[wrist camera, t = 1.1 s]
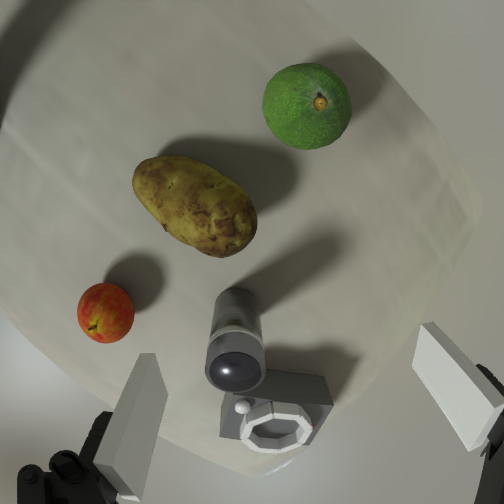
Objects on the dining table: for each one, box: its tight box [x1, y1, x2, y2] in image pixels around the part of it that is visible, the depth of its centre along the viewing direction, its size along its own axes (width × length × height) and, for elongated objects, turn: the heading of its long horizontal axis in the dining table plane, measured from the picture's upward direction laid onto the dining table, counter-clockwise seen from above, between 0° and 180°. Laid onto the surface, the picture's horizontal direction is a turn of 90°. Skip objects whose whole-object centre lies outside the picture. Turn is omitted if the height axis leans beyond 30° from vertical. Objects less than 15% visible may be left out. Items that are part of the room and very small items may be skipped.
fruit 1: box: [77, 283, 134, 343], centre depth 31 cm, size 7×7×8 cm
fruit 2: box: [262, 63, 351, 150], centre depth 24 cm, size 8×8×12 cm
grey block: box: [219, 369, 334, 454], centre depth 37 cm, size 13×9×8 cm
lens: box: [205, 287, 266, 393], centre depth 30 cm, size 5×5×12 cm
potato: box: [132, 155, 257, 258], centre depth 28 cm, size 8×13×8 cm, turn 41°
